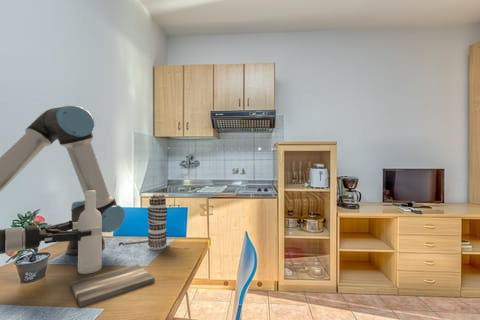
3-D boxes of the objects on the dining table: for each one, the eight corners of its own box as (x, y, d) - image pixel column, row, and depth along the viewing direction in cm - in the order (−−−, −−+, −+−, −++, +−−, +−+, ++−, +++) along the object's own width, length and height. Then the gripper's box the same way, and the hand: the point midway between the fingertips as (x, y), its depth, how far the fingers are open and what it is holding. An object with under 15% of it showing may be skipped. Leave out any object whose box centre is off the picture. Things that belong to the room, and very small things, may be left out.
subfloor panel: (70, 286, 84) (70, 282, 84) (137, 267, 99) (137, 263, 99) (80, 306, 73) (80, 301, 73) (154, 281, 88) (154, 277, 88)
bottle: (90, 275, 92) (90, 192, 92) (72, 272, 94) (72, 191, 94) (106, 266, 100) (107, 189, 100) (90, 264, 102) (90, 189, 101)
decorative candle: (145, 250, 117) (146, 196, 117) (148, 244, 126) (148, 193, 126) (166, 249, 119) (166, 195, 119) (167, 242, 128) (167, 193, 128)
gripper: (22, 240, 93) (88, 229, 107) (26, 261, 74) (105, 244, 89) (22, 219, 93) (88, 211, 107) (26, 235, 74) (105, 223, 89)
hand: (96, 226), depth 98 cm, fingers open, 13 cm apart
